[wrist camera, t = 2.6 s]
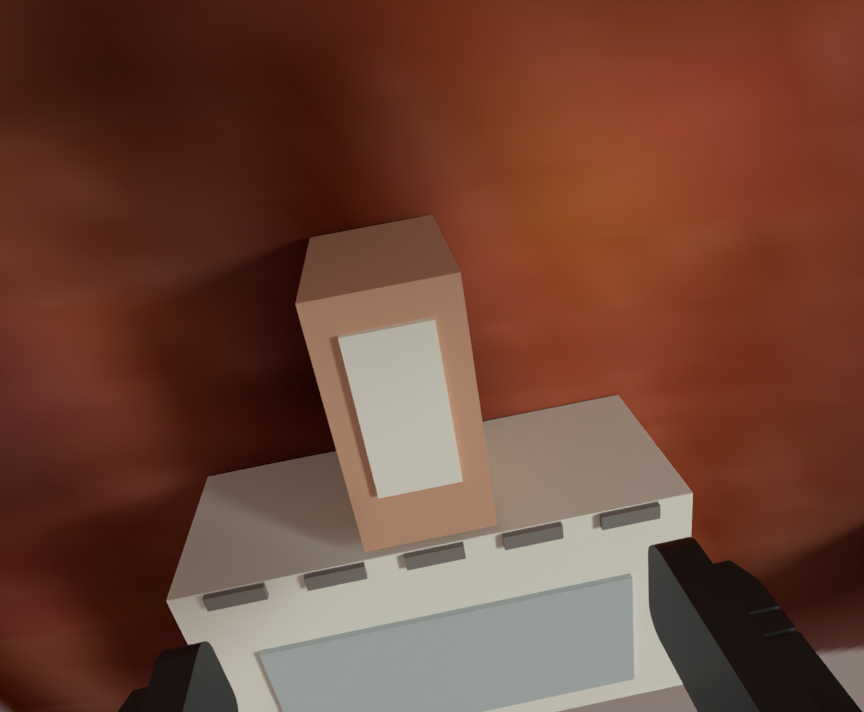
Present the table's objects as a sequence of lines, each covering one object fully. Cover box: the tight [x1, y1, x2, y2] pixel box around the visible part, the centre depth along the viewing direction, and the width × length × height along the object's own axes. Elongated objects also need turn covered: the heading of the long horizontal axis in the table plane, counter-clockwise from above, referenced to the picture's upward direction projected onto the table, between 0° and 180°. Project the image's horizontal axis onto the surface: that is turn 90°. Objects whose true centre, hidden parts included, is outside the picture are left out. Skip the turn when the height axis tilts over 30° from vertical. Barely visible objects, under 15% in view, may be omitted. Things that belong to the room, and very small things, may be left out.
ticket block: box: [166, 395, 693, 712], centre depth 23 cm, size 9×16×6 cm, turn 99°
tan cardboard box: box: [295, 215, 497, 552], centre depth 19 cm, size 8×4×6 cm, turn 9°
